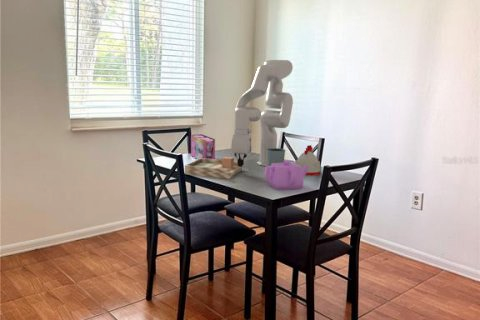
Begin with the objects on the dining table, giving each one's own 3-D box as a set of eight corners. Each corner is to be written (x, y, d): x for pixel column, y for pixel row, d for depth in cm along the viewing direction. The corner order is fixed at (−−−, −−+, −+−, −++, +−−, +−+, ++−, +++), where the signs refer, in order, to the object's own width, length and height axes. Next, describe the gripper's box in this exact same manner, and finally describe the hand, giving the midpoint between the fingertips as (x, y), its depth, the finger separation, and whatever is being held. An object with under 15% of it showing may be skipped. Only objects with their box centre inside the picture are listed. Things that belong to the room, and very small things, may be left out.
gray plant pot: (283, 173, 227) (284, 151, 224) (264, 172, 229) (265, 150, 226) (284, 169, 236) (286, 148, 234) (266, 168, 238) (267, 147, 236)
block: (233, 166, 228) (234, 157, 227) (230, 168, 224) (231, 158, 223) (224, 165, 230) (225, 156, 229) (221, 167, 225) (222, 158, 224)
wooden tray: (241, 170, 232) (242, 162, 231) (229, 178, 211) (229, 169, 210) (201, 166, 238) (201, 158, 238) (184, 174, 218) (184, 165, 217)
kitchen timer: (323, 172, 233) (325, 145, 230) (313, 176, 222) (315, 148, 219) (301, 168, 241) (302, 142, 238) (289, 172, 230) (291, 145, 227)
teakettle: (261, 187, 197) (262, 161, 194) (275, 180, 212) (277, 156, 209) (296, 193, 189) (297, 166, 187) (308, 185, 204) (310, 160, 202)
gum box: (216, 162, 251) (216, 139, 249) (203, 163, 248) (204, 140, 245) (202, 155, 273) (202, 134, 270) (190, 155, 269) (190, 134, 267)
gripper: (257, 132, 223) (255, 166, 226) (230, 130, 227) (229, 163, 230) (253, 133, 215) (252, 169, 219) (225, 131, 220) (224, 166, 223)
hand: (240, 166), depth 225 cm, fingers closed
